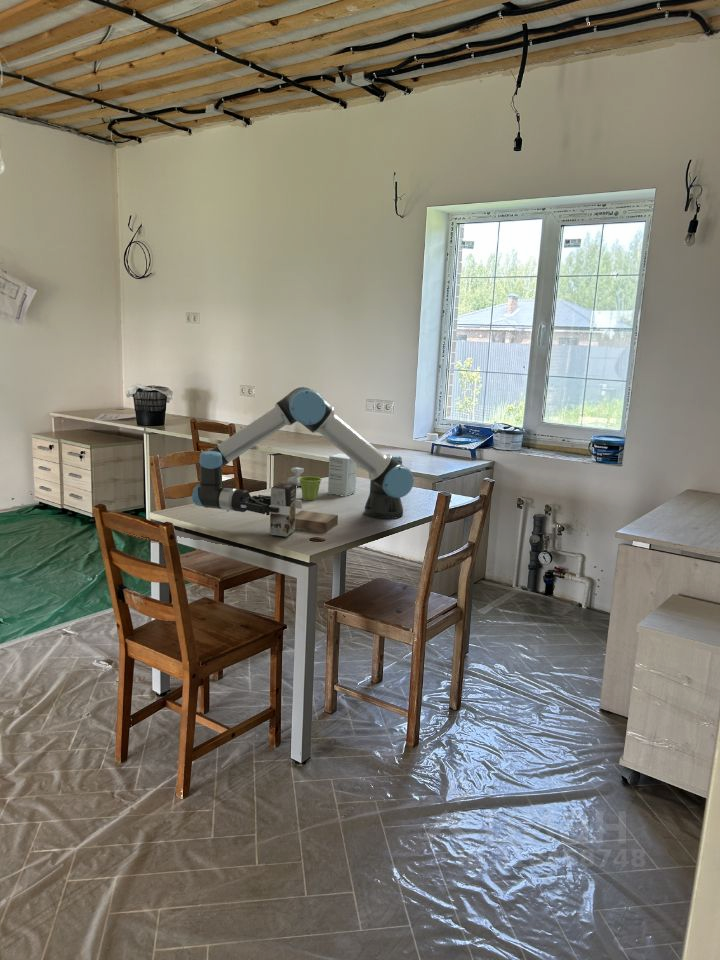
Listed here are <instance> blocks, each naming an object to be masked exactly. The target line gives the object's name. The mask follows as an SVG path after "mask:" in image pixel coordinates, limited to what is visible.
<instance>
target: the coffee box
mask: <svg viewBox="0 0 720 960" xmlns="http://www.w3.org/2000/svg"><path fill="white" fill-rule="evenodd" d="M270 496H271V505H279V506H287V507H290V514H289V515H282V514H274V513H270V515H269V518H270V519H269V535H270V536H279V537H288V536H289V535H291V534H292V533H293V532H294V531H296V529H295V516H296V514H297V513H296V510H297V508H296V500H297V487H296V484H289V483H282V482H281V483H280V482H279V483H277V484H275V485H273V486H271V487H270Z"/></svg>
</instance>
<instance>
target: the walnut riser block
mask: <svg viewBox="0 0 720 960" xmlns="http://www.w3.org/2000/svg"><path fill="white" fill-rule="evenodd" d="M338 520H339V515H338V514H333V513H325V512H324V513H323V512H318V511H317V512H315V511H308V510H301V511H298V512H297V513H296V516H295V530H301V531H311V532H317V533H326V534H327V533H328V532H329V531H331V530H333V529H334V528H335V527H337V526H338V525H339V523H338V522H339V521H338ZM333 527H334V528H333Z"/></svg>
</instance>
